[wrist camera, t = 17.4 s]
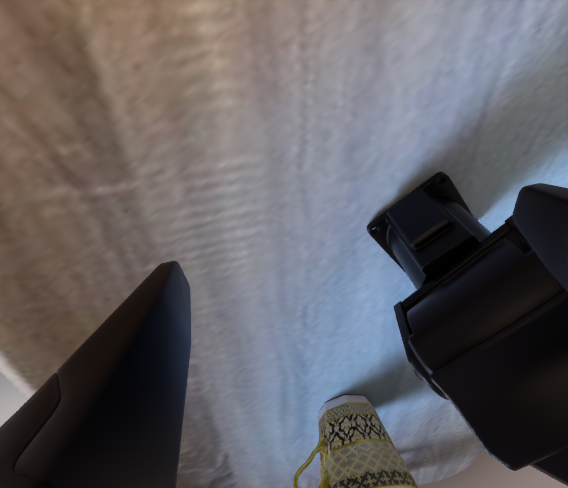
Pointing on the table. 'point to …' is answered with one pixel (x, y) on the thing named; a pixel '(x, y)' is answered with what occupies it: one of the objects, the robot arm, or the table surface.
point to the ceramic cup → (356, 448)
